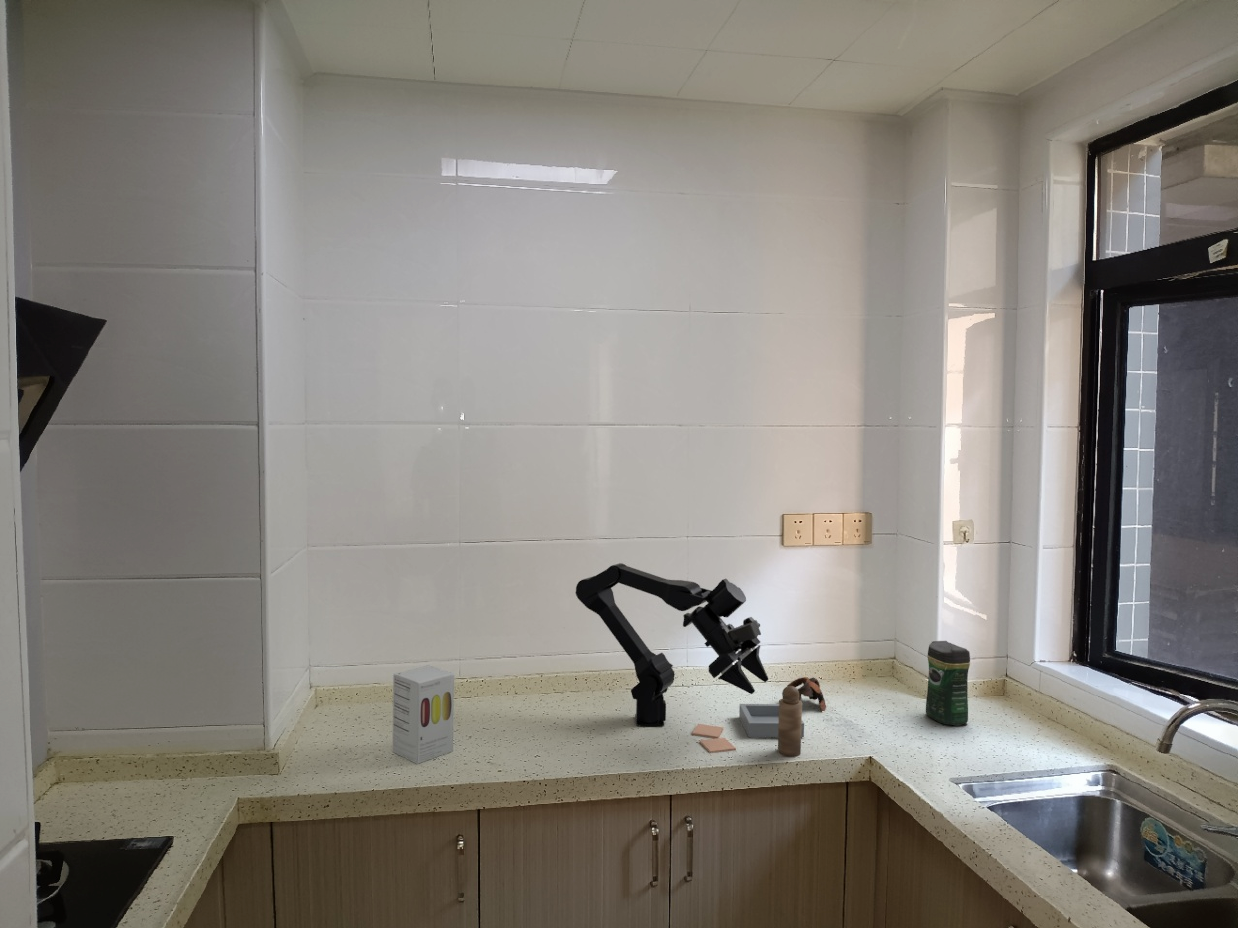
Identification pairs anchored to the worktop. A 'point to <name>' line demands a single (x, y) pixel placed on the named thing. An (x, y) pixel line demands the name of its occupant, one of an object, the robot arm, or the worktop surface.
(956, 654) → the coffee jar
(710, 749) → the tile
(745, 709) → the tray
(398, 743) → the supplement box
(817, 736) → the worktop surface
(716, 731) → the tile
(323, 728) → the worktop surface
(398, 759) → the worktop surface
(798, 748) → the pepper mill
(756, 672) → the robot arm
